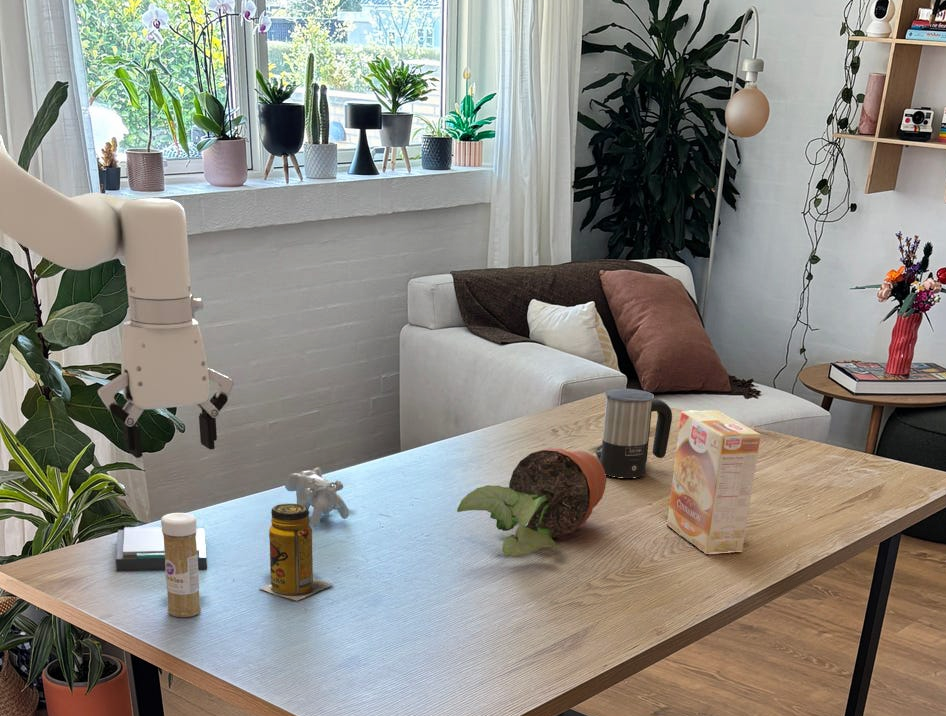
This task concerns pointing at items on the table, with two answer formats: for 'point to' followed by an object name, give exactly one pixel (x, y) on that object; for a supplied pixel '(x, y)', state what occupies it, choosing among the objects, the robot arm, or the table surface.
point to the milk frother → (632, 431)
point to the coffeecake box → (713, 480)
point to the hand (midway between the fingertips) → (172, 451)
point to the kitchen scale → (149, 549)
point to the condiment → (292, 553)
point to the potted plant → (542, 498)
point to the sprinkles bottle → (181, 564)
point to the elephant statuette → (317, 494)
